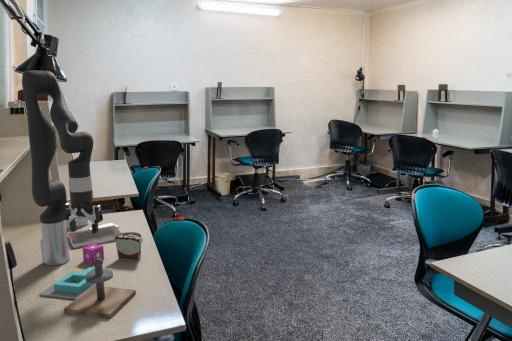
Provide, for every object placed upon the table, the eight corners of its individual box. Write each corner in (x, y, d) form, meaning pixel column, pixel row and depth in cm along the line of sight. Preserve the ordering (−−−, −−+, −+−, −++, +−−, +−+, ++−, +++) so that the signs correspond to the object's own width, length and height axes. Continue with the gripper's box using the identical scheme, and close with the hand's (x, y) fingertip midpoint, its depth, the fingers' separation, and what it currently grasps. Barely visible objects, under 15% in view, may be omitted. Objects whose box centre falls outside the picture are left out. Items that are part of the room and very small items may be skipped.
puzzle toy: (95, 256, 178) (94, 243, 177) (104, 259, 176) (103, 246, 175) (83, 261, 174) (82, 248, 173) (92, 264, 171) (91, 250, 170)
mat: (39, 295, 145) (39, 294, 145) (69, 275, 160) (69, 274, 160) (78, 300, 142) (78, 298, 142) (105, 279, 157) (105, 277, 157)
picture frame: (73, 248, 187) (123, 239, 198) (73, 243, 187) (123, 234, 198) (68, 237, 201) (115, 229, 212) (67, 232, 201) (114, 224, 212)
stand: (64, 312, 134) (59, 266, 131) (93, 289, 149) (90, 247, 146) (110, 318, 131) (106, 271, 128) (135, 293, 146) (133, 251, 143)
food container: (149, 255, 179) (148, 233, 177) (142, 261, 173) (140, 238, 171) (123, 253, 182) (122, 230, 180) (115, 258, 176) (113, 235, 174)
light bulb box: (84, 221, 224) (82, 201, 222) (88, 224, 219) (87, 204, 217) (63, 225, 218) (61, 205, 216) (67, 229, 213) (65, 208, 211)
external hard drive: (87, 231, 211) (110, 225, 220) (96, 235, 206) (119, 228, 215) (87, 228, 211) (110, 222, 220) (96, 232, 205) (119, 225, 214)
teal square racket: (54, 290, 147) (53, 284, 147) (81, 272, 162) (80, 266, 161) (80, 293, 145) (79, 286, 145) (104, 274, 159) (104, 268, 159)
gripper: (56, 190, 149) (60, 234, 153) (92, 192, 146) (96, 237, 149) (69, 185, 157) (73, 227, 160) (104, 187, 153) (107, 230, 157)
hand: (84, 232), depth 155 cm, fingers open, 8 cm apart
